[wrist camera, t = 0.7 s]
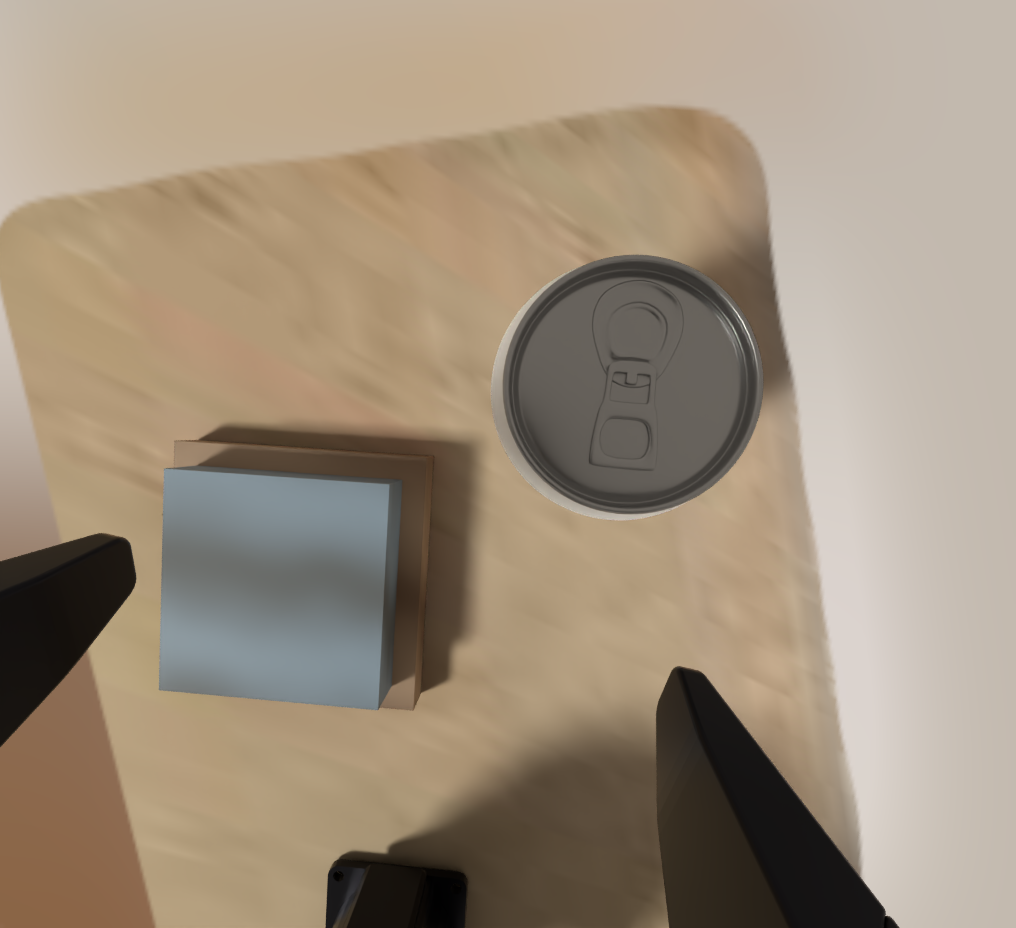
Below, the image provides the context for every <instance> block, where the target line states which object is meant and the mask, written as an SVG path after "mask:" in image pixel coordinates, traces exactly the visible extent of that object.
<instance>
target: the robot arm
mask: <svg viewBox="0 0 1016 928" xmlns="http://www.w3.org/2000/svg"><path fill="white" fill-rule="evenodd" d="M135 583H136V572H135V566H134V561H133V555H132V549H131V545H130V543H129V542H128V540H127V539H125V538H123V537H119V536H114V535H110V534H104V533H98V534H94V535H91V536H87V537H84V538H80V539H77V540H73V541H70V542H66V543H63V544H59V545H56V546H52V547H49V548H45V549H42V550H38V551H35V552H31V553H28V554H25V555H21V556H18V557H14V558H11V559H7V560H4V561H0V747H1V746H2V745H3V744H4V743H5V742H6V741H7V739H8V738H9V737H10V736H11V735H12V734H13V733H14V732H15V731H16V730H17V729H18V727H20V726H21V724H22V723H23V722H24V721H25V720H26V719H27V718H28V717H29V716H30V715H31V714H32V712H33V711H34V710H35V709H36V708H37V707H38V706H39V705H40V704H41V703H42V702H43V701H44V700H45V699H46V697H47V696H48V695H49V694H50V693H51V692H52V691H53V690H54V689H55V688H56V687H57V686H58V684H59V683H60V682H61V681H62V680H63V679H64V678H65V676H66V675H67V674H68V673H69V672H70V671H71V669H72V668H73V667H74V666H75V664H76V663H77V662H78V661H79V660H80V658H81V657H82V656H83V654H84V653H85V652H86V651H87V649H88V648H89V647H90V645H91V644H92V643H93V642H94V640H95V639H96V638H97V636H98V635H99V634H100V633H101V631H102V630H103V629H104V627H105V626H106V625H107V623H108V622H109V621H110V620H111V618H112V617H113V616H114V614H115V613H116V612H117V611H118V609H119V608H120V607H121V605H122V604H123V603H124V602H125V600H126V599H127V598H128V596H129V595H130V594H131V592H132V590H133V589H134V586H135ZM656 766H657V820H658V831H659V841H660V850H661V859H662V868H663V876H664V885H665V894H666V903H667V911H668V920H669V928H899V927H898V926H897V924H896V923H895V921H894V920H893V919H892V918H891V917H890V916H885V915H886V913H885V909H884V907H883V906H882V905H881V903H880V902H879V901H878V900H877V898H876V897H875V896H874V894H873V893H872V892H871V890H870V889H869V888H868V887H867V885H866V884H865V883H864V881H863V880H862V879H861V877H860V876H859V875H858V874H857V872H856V871H855V870H854V868H853V867H852V866H851V864H850V863H849V862H848V861H847V859H846V858H845V857H844V855H843V854H842V853H841V851H840V850H839V849H838V848H837V846H836V845H835V844H834V842H833V841H832V840H831V838H830V837H829V836H828V835H827V833H826V832H825V831H824V829H823V828H822V827H821V825H820V824H819V823H818V822H817V820H816V819H815V818H814V816H813V815H812V814H811V812H810V811H809V810H808V809H807V807H806V806H805V805H804V803H803V802H802V801H801V799H800V798H799V797H798V796H797V794H796V793H795V792H794V790H793V789H792V788H791V786H790V785H789V784H788V783H787V781H786V780H785V779H784V777H783V776H782V775H781V773H780V772H779V771H778V770H777V768H776V767H775V766H774V764H773V763H772V762H771V760H770V759H769V758H768V757H767V755H766V754H765V753H764V751H763V750H762V749H761V747H760V746H759V745H758V744H757V742H756V741H755V740H754V738H753V737H752V736H751V734H750V733H749V732H748V731H747V729H746V728H745V727H744V725H743V724H742V723H741V721H740V720H739V719H738V718H737V716H736V715H735V714H734V712H733V711H732V710H731V708H730V707H729V706H728V705H727V703H726V702H725V701H724V699H723V698H722V697H721V695H720V694H719V693H718V692H717V690H716V689H715V688H714V686H713V685H712V684H711V682H710V681H709V680H708V679H707V677H706V676H705V675H704V674H703V673H702V672H700V671H698V670H694V669H689V668H685V667H681V666H677V667H675V668H674V669H673V670H672V671H671V673H670V676H669V678H668V680H667V683H666V685H665V687H664V690H663V692H662V694H661V696H660V699H659V701H658V705H657V711H656ZM337 871H340V872H342V873H343V874H342V875H341V874H339V873H338V872H337ZM453 884H459V885H460V887H456V886H454V885H453ZM467 891H468V879H467V877H466V876H465V875H464V874H463V873H461V872H458V871H449V870H439V869H430V868H420V867H411V866H401V865H392V864H382V863H373V862H364V861H354V860H345V859H339V860H336V861H335V862H334V863H333V864H332V866H331V868H330V870H329V873H328V886H327V908H326V928H465V923H466V907H467Z"/></svg>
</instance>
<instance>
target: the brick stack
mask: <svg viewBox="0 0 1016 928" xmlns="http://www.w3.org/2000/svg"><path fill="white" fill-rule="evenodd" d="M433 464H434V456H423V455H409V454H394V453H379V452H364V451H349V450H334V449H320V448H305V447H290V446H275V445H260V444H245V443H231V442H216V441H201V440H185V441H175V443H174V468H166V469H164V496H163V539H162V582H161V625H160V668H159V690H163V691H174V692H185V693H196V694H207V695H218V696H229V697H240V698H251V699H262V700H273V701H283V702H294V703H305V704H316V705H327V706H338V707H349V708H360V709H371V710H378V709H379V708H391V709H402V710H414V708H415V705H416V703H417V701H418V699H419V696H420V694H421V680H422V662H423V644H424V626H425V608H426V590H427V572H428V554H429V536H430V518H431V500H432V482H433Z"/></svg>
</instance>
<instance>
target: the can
mask: <svg viewBox="0 0 1016 928" xmlns="http://www.w3.org/2000/svg"><path fill="white" fill-rule="evenodd" d="M762 396H763V368H762V361H761V356H760V351H759V347H758V344H757V341H756V338H755V335H754V333H753V331H752V328H751V326H750V324H749V322H748V321H747V319H746V317H745V315H744V314H743V312H742V311H741V309H740V308H739V306H738V305H737V304H736V303H735V301H734V300H733V299H732V298H731V297H730V296H729V295H728V294H727V292H725V291H724V290H723V289H722V288H721V287H720V286H719V285H718V284H717V283H715V282H714V281H713V280H711V279H710V278H709V277H707V276H706V275H704V274H702V273H701V272H699V271H697V270H695V269H693V268H691V267H689V266H687V265H685V264H682V263H679V262H677V261H673V260H670V259H666V258H662V257H656V256H649V255H622V256H614V257H609V258H605V259H601V260H597V261H594V262H591V263H588V264H586V265H583V266H581V267H578V268H576V269H573V270H571V271H569V272H567V273H565V274H563V275H561V276H559V277H557V278H556V279H554V280H552V281H551V282H549V283H548V284H547V285H545V286H544V287H543V288H541V289H540V290H539V291H538V292H537V293H535V294H534V295H533V296H532V297H531V298H530V299H529V300H528V301H527V302H526V303H525V304H524V306H523V307H522V308H521V309H520V310H519V312H518V313H517V314H516V316H515V317H514V319H513V320H512V322H511V324H510V325H509V327H508V329H507V331H506V332H505V335H504V337H503V339H502V341H501V344H500V346H499V349H498V352H497V355H496V359H495V363H494V367H493V373H492V381H491V404H492V412H493V418H494V422H495V426H496V430H497V433H498V436H499V439H500V441H501V443H502V446H503V448H504V450H505V452H506V454H507V455H508V457H509V459H510V460H511V462H512V464H513V465H514V466H515V468H516V469H517V470H518V472H519V473H520V474H521V475H522V477H523V478H524V479H525V480H526V481H527V482H528V483H529V484H530V485H531V486H532V487H533V488H535V489H536V490H537V491H538V492H539V493H541V494H542V495H543V496H545V497H546V498H548V499H549V500H551V501H552V502H554V503H556V504H558V505H560V506H562V507H564V508H566V509H568V510H570V511H573V512H576V513H579V514H582V515H585V516H589V517H593V518H599V519H606V520H634V519H641V518H647V517H651V516H655V515H659V514H662V513H665V512H667V511H670V510H672V509H675V508H677V507H679V506H681V505H683V504H684V503H686V502H688V501H690V500H691V499H693V498H695V497H697V496H699V495H700V494H702V493H703V492H705V491H706V490H708V489H709V488H710V487H712V486H713V485H714V484H715V483H717V482H718V481H719V480H720V479H721V478H722V477H723V476H724V475H725V474H726V473H727V472H728V471H729V470H730V469H731V468H732V467H733V465H734V464H735V463H736V461H737V460H738V459H739V457H740V456H741V454H742V453H743V451H744V450H745V448H746V446H747V444H748V443H749V441H750V438H751V436H752V434H753V432H754V429H755V427H756V424H757V421H758V417H759V413H760V409H761V404H762Z"/></svg>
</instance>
